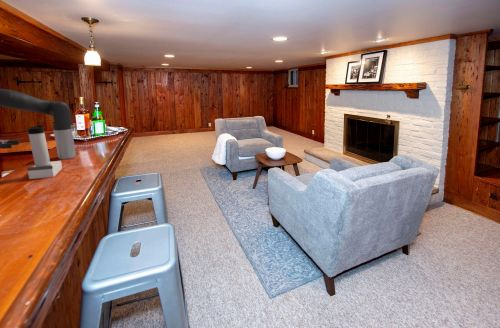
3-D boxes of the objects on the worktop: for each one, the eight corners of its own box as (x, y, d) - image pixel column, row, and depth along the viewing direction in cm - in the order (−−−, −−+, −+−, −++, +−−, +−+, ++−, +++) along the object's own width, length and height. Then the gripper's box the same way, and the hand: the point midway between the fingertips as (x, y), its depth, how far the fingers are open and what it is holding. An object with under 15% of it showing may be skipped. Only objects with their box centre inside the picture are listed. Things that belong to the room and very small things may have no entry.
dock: (40, 169, 155) (38, 159, 154) (62, 168, 158) (60, 158, 157) (29, 179, 140) (27, 167, 139) (53, 176, 143) (51, 165, 142)
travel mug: (54, 165, 148) (46, 125, 143) (41, 168, 142) (33, 127, 137) (45, 164, 150) (37, 124, 145) (32, 167, 144) (23, 126, 139)
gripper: (-39, 141, 128) (7, 138, 133) (-22, 135, 141) (19, 133, 146) (-34, 157, 130) (10, 155, 135) (-18, 151, 143) (22, 148, 148)
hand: (15, 144), depth 140 cm, fingers open, 8 cm apart
